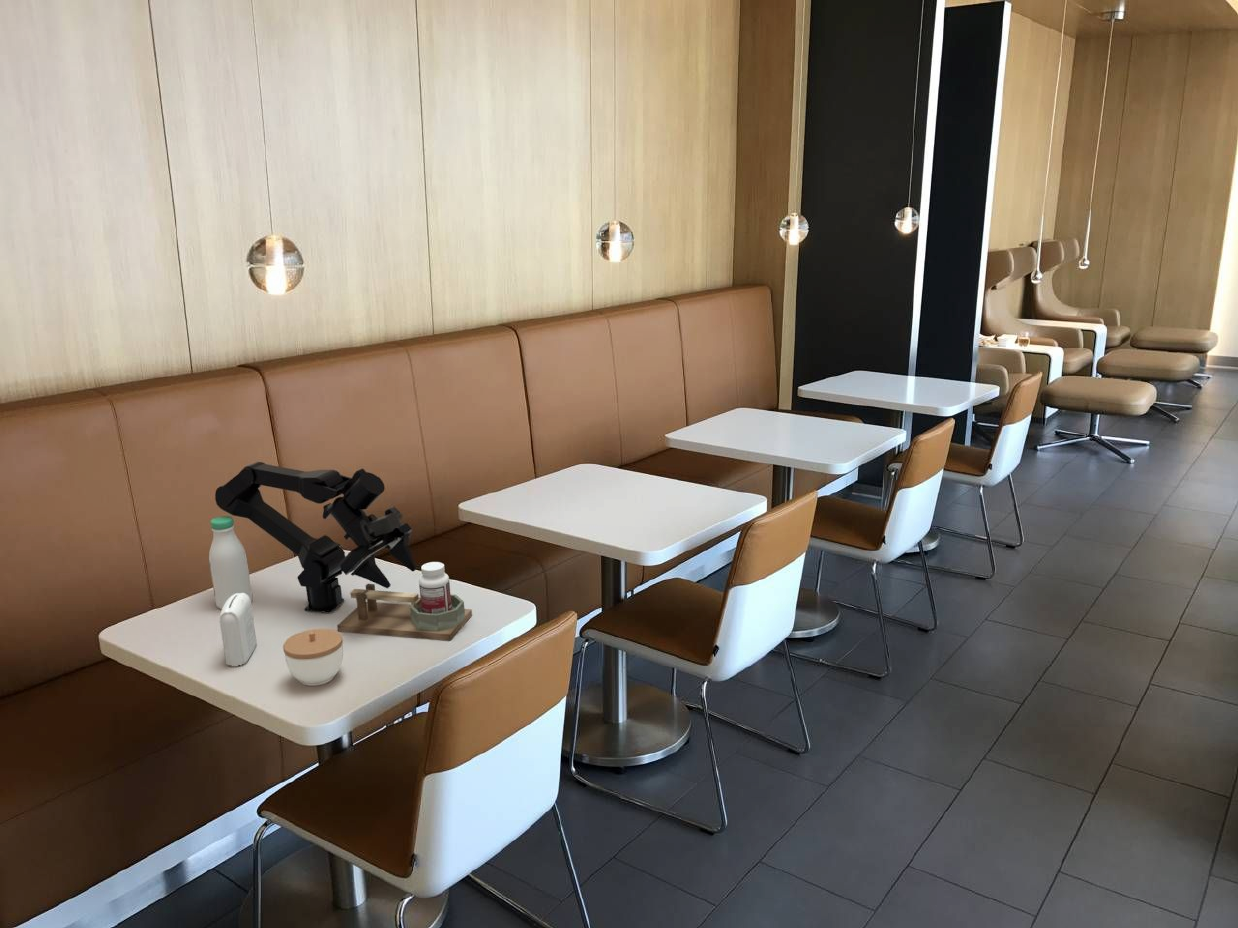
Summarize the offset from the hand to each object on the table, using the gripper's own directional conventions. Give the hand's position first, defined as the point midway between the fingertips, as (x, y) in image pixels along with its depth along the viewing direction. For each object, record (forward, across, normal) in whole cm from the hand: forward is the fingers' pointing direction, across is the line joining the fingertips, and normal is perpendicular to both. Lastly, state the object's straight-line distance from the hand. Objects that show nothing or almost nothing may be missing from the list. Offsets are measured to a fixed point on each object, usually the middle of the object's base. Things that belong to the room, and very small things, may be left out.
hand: (402, 578), depth 215 cm
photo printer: (-8, -25, +23) cm, 35 cm away
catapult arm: (+7, -1, +4) cm, 8 cm away
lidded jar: (+6, -27, +8) cm, 29 cm away
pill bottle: (+11, 0, -1) cm, 11 cm away
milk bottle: (-21, -6, +37) cm, 43 cm away
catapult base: (+8, -1, +6) cm, 10 cm away
